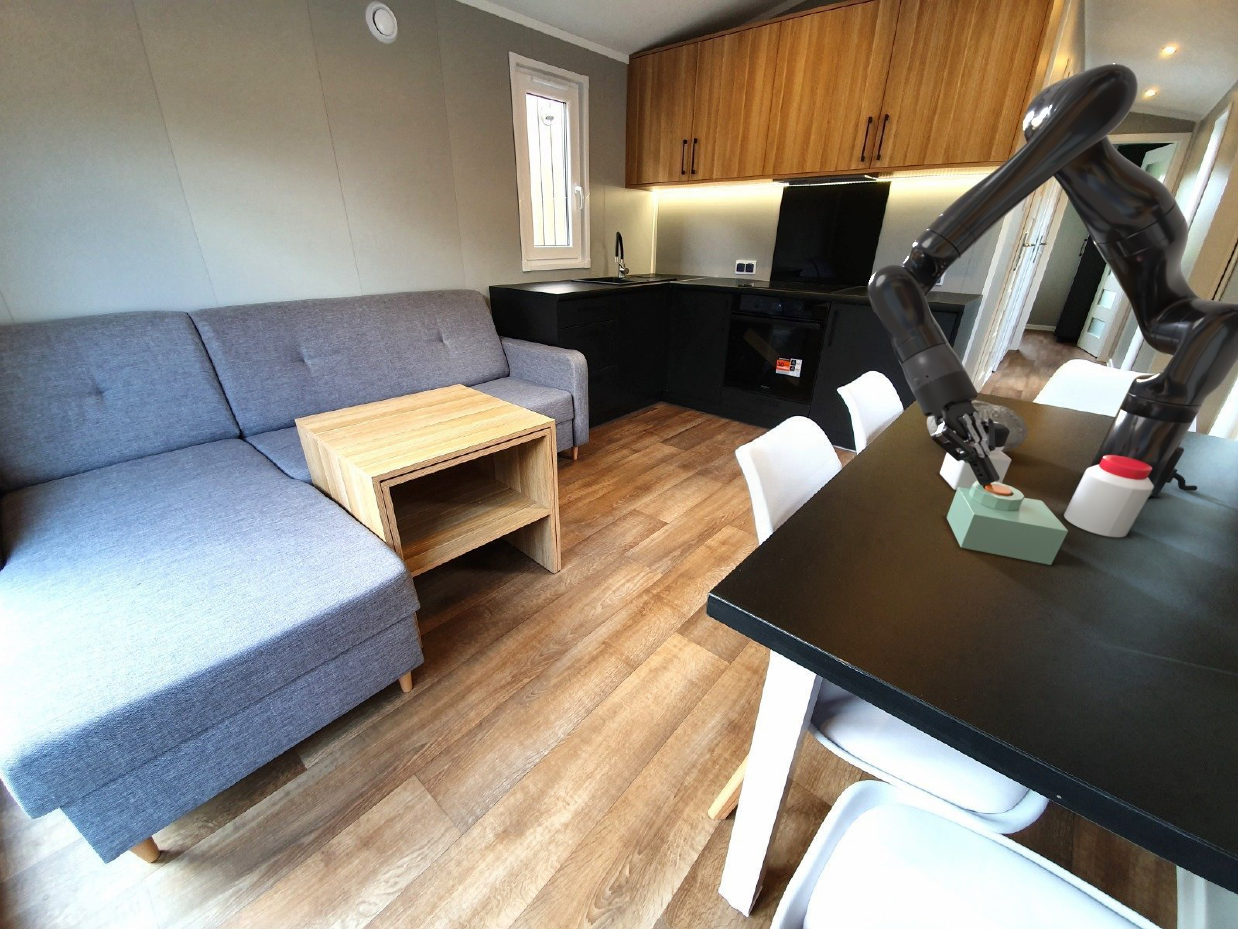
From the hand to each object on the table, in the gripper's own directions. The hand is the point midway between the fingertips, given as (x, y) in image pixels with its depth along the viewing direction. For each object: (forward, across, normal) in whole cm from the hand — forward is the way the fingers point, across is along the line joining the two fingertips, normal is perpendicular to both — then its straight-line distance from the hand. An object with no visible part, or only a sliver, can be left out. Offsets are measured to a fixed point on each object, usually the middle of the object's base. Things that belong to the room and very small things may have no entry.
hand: (990, 482), depth 73 cm
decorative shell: (-8, +34, +20) cm, 40 cm away
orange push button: (+3, 0, +1) cm, 3 cm away
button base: (+8, 0, +3) cm, 9 cm away
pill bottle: (+11, +20, 0) cm, 23 cm away
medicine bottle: (-1, +16, +12) cm, 20 cm away
